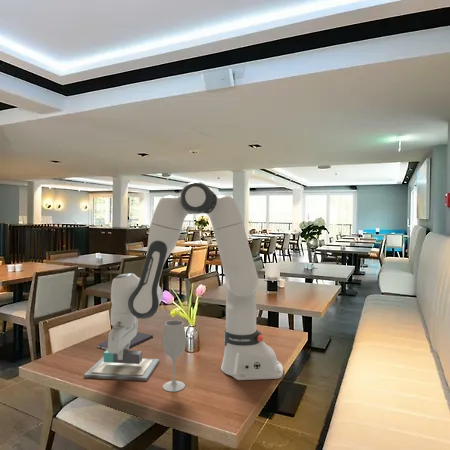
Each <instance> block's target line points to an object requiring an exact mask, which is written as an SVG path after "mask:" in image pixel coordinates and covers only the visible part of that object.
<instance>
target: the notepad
mask: <svg viewBox="0 0 450 450" xmlns="http://www.w3.org/2000/svg"><path fill="white" fill-rule="evenodd" d="M159 363H160V358H147V357H146V358H144V357H142V361H141V362H140V364H129V363H110V362H104V355H103V356H102V357H101V358H100V359H99V360H98V361H96V363H95V364H94V365H93V366H92V367H90V368H89V369H88V370H87V371H86V372H85V373H84V374H83V378H85V379H87V378H88V379H104V380H105V379H107V380H124V381H125V380H128V381H145V382H146V381H148V380H149V379H150V377H151V375H152V373H153V372H154V371H155V369H156V367H157V366H158V365H159Z"/></svg>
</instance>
